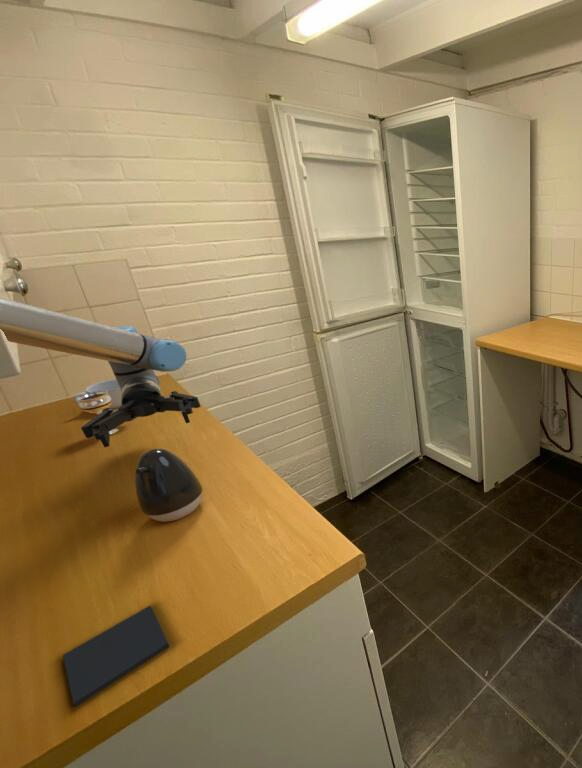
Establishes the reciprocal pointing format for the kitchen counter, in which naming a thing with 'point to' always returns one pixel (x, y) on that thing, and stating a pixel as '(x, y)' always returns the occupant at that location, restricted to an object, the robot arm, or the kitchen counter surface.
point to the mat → (113, 654)
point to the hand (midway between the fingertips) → (146, 428)
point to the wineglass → (95, 403)
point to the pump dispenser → (166, 486)
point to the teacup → (107, 385)
